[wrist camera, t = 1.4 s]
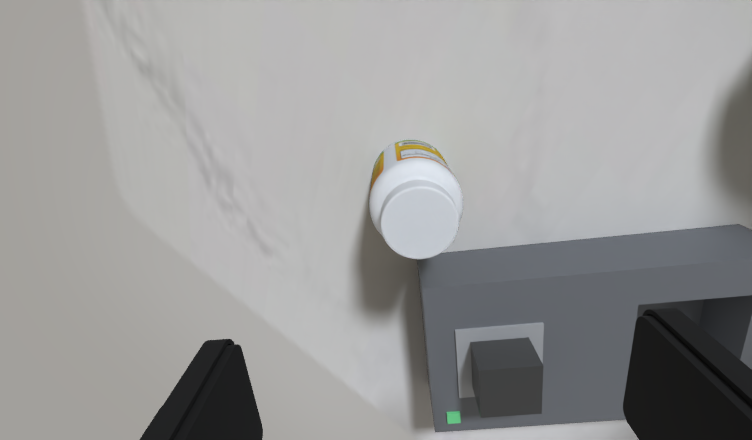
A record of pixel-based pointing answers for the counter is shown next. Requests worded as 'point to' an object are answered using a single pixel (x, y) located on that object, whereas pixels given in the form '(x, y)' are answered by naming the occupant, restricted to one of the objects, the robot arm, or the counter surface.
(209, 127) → the counter surface
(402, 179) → the supplement bottle
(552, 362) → the control panel
